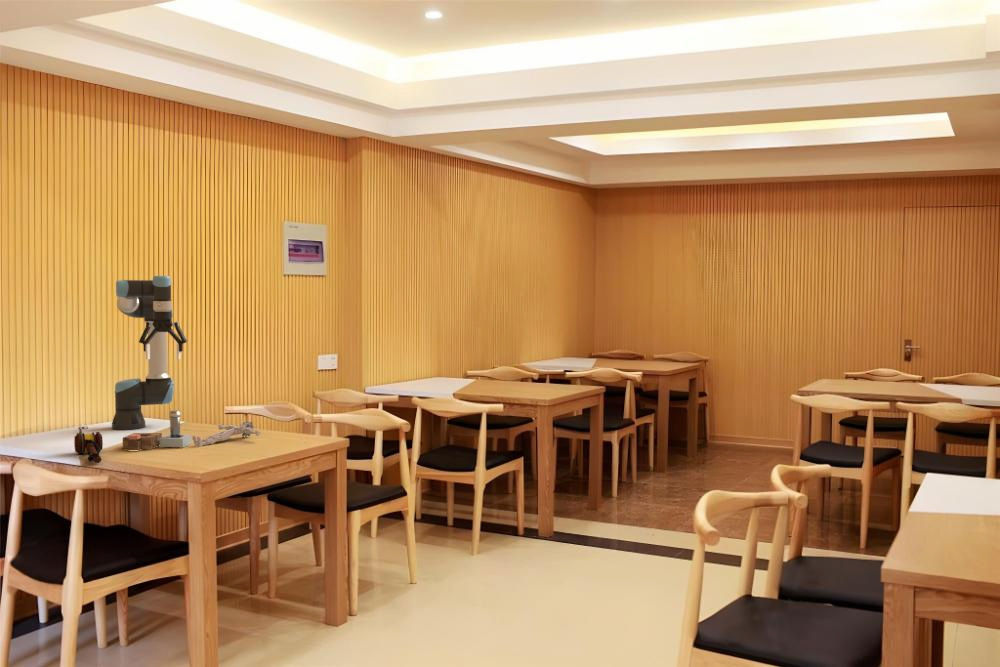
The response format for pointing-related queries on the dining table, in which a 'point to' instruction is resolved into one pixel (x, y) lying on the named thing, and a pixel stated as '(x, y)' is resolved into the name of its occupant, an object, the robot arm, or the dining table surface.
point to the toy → (227, 433)
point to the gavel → (89, 444)
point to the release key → (135, 437)
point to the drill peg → (174, 424)
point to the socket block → (142, 441)
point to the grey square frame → (175, 441)
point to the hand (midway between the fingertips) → (163, 359)
